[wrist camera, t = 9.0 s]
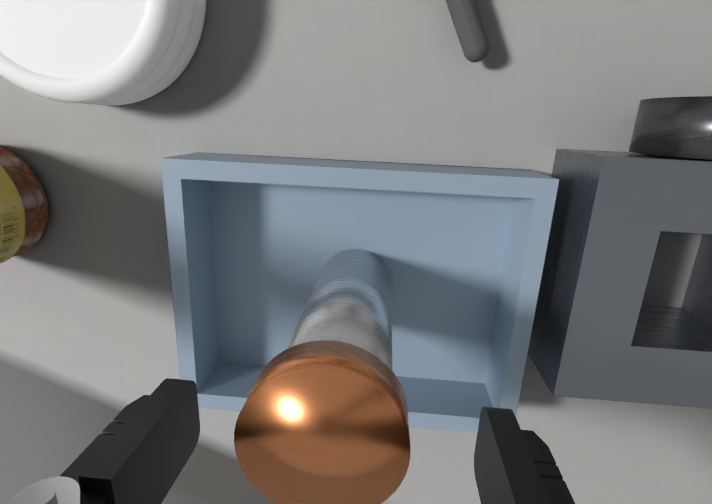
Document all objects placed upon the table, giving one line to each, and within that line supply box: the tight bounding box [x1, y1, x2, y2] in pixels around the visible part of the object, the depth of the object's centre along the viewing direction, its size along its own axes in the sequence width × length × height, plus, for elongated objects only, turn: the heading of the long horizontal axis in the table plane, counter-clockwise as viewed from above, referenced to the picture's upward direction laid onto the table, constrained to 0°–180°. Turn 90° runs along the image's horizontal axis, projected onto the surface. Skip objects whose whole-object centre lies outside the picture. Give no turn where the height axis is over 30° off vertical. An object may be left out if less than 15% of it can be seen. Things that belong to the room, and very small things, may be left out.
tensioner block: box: [528, 96, 712, 409], centre depth 18 cm, size 10×12×6 cm
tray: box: [160, 153, 559, 432], centre depth 20 cm, size 16×12×4 cm
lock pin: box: [234, 249, 410, 504], centre depth 16 cm, size 4×4×12 cm
